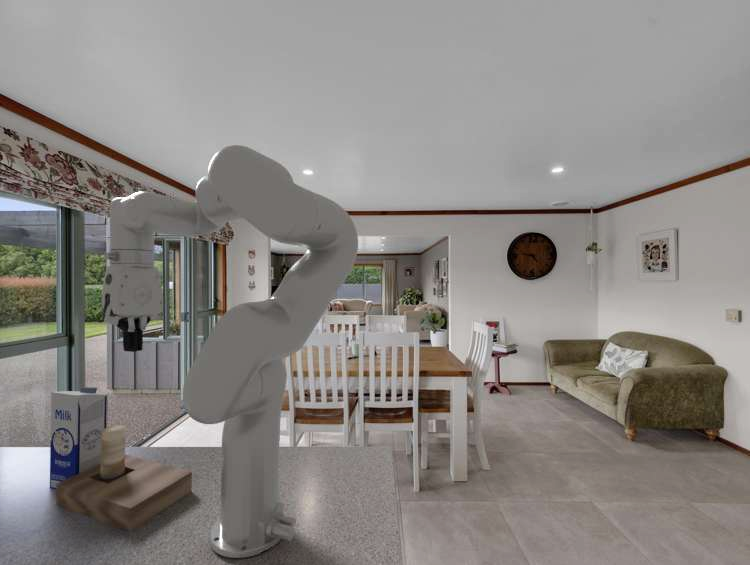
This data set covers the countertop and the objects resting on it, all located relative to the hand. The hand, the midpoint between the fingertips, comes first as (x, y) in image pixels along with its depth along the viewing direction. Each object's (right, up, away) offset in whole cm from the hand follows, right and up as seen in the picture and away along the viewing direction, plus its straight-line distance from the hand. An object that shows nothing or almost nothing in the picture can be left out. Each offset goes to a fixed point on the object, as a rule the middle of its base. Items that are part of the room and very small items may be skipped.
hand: (133, 350), depth 74 cm
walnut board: (0, -29, -2) cm, 29 cm away
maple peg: (-4, -28, 0) cm, 28 cm away
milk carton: (-14, -29, +4) cm, 32 cm away
